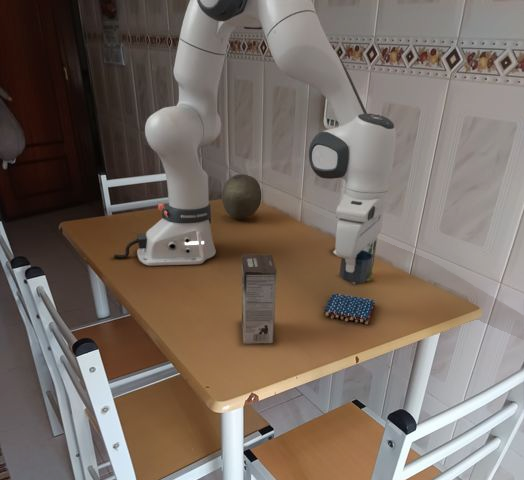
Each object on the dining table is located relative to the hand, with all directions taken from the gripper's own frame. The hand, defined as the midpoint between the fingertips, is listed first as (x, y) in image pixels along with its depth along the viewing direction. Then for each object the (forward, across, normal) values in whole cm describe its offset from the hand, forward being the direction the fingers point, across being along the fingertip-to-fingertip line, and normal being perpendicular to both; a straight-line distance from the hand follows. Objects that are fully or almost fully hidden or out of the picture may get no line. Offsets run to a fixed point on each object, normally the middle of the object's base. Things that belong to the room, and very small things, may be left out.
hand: (356, 265), depth 109 cm
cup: (+3, 0, 0) cm, 3 cm away
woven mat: (+12, 0, 0) cm, 12 cm away
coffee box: (+12, +20, -14) cm, 27 cm away
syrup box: (+12, -20, -5) cm, 23 cm away
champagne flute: (+12, -36, -15) cm, 41 cm away
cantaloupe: (+12, -47, -57) cm, 75 cm away
